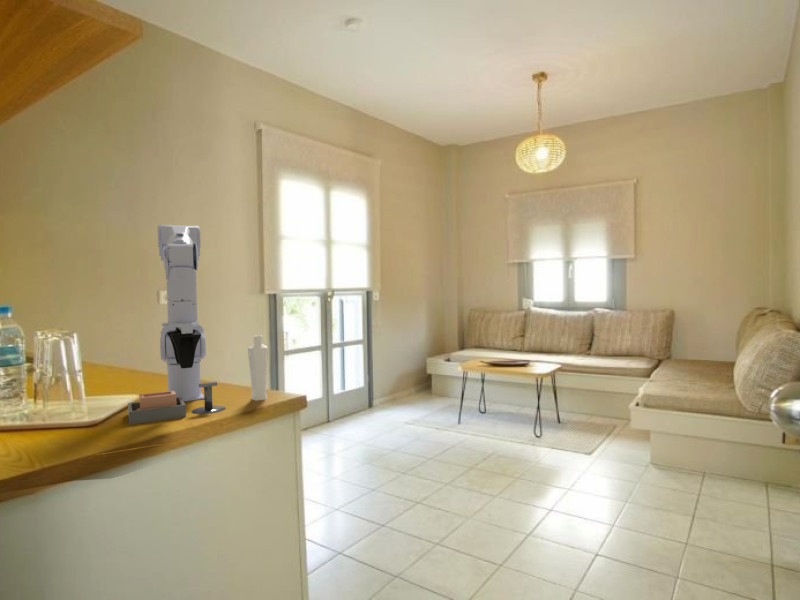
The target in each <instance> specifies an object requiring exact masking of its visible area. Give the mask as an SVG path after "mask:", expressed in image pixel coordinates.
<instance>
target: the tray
mask: <svg viewBox="0 0 800 600" xmlns="http://www.w3.org/2000/svg"><path fill="white" fill-rule="evenodd" d="M176 402H177V405H176V406H168V407H160V408H152V409H144V410H137V409H139V408H140V401H136V402H128V403H127V414H128V415H127V416H128V425H136V424H142V423H143V424H144V423H150V422H151V423H153V422H157V421H158V422H159V421H164V420H172V419H177V418H179V419H181V418H186V416H187V408H186V406H187V405H186V403H185V402H184V401H183V400H182V398H181V397H176Z"/></svg>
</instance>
